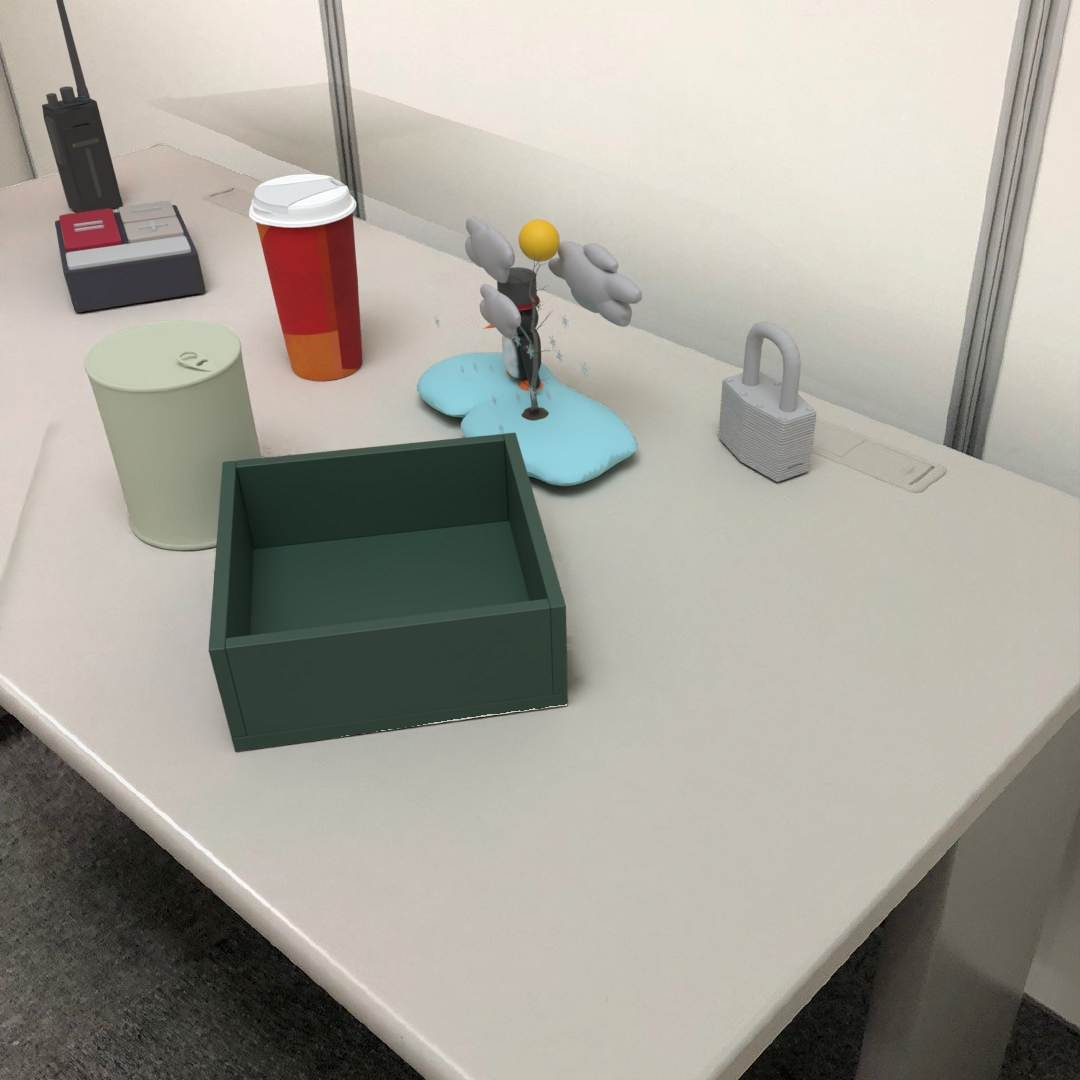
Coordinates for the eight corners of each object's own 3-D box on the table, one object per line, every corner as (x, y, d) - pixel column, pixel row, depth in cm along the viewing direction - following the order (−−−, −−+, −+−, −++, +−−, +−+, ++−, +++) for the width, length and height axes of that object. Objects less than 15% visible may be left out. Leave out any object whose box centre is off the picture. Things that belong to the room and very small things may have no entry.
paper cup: (348, 334, 101) (325, 164, 92) (393, 369, 96) (372, 193, 87) (260, 359, 97) (227, 185, 89) (302, 397, 92) (271, 217, 84)
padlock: (710, 441, 88) (719, 312, 82) (755, 426, 89) (767, 299, 83) (770, 487, 83) (784, 353, 77) (816, 471, 85) (834, 339, 79)
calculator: (174, 195, 115) (196, 244, 104) (184, 240, 118) (206, 292, 107) (51, 211, 112) (60, 264, 101) (64, 257, 114) (74, 313, 103)
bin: (234, 752, 63) (207, 650, 59) (243, 556, 76) (222, 461, 72) (568, 706, 66) (566, 605, 62) (520, 525, 79) (515, 432, 75)
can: (204, 567, 76) (161, 395, 68) (98, 525, 79) (46, 358, 72) (302, 496, 82) (272, 332, 74) (199, 460, 85) (161, 300, 78)
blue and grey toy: (401, 390, 93) (379, 195, 84) (522, 357, 98) (515, 167, 88) (528, 515, 80) (519, 300, 71) (661, 470, 85) (670, 262, 75)
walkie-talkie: (109, 197, 125) (54, -17, 113) (125, 205, 123) (72, -11, 111) (65, 209, 122) (4, -8, 110) (81, 218, 121) (22, -2, 108)
